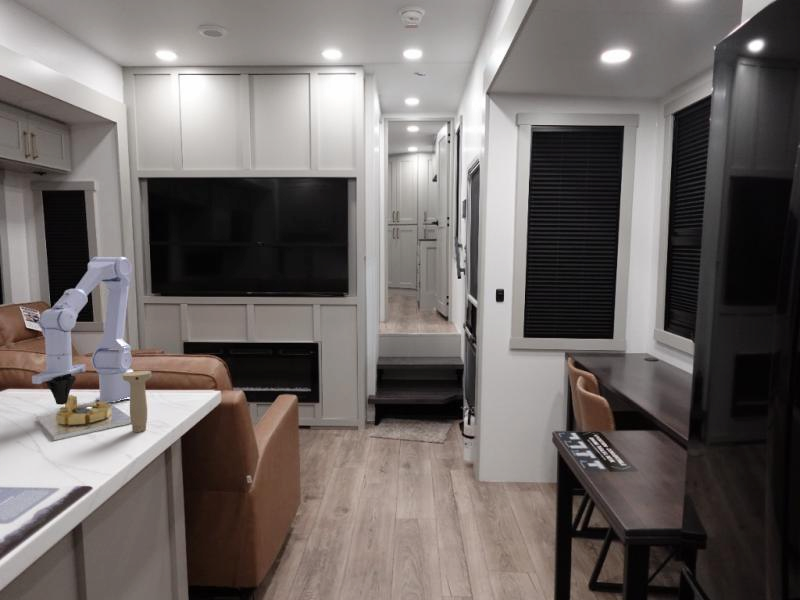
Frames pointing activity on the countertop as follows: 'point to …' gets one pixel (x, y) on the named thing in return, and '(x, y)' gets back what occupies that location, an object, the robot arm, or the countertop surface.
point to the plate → (66, 430)
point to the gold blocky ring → (71, 417)
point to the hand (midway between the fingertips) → (61, 403)
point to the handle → (138, 398)
